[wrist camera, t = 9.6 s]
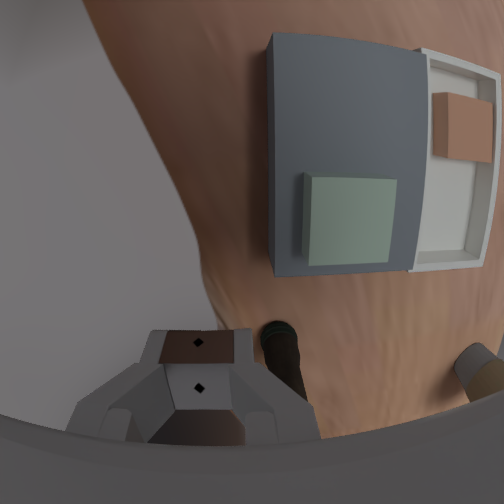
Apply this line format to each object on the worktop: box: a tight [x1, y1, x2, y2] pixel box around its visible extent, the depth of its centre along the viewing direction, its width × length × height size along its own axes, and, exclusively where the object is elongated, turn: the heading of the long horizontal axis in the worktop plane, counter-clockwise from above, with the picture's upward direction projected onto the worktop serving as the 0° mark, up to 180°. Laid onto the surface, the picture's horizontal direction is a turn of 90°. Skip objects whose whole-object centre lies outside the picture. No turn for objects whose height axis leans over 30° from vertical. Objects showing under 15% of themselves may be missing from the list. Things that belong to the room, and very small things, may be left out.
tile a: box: [433, 92, 493, 163], centre depth 24 cm, size 6×6×2 cm
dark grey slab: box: [266, 33, 428, 277], centre depth 24 cm, size 18×12×5 cm, turn 1°
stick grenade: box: [261, 322, 308, 402], centre depth 19 cm, size 8×9×30 cm
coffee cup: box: [454, 343, 504, 402], centre depth 30 cm, size 9×9×15 cm
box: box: [406, 48, 502, 272], centre depth 25 cm, size 20×10×4 cm, turn 1°
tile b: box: [302, 172, 397, 266], centre depth 22 cm, size 6×6×2 cm
